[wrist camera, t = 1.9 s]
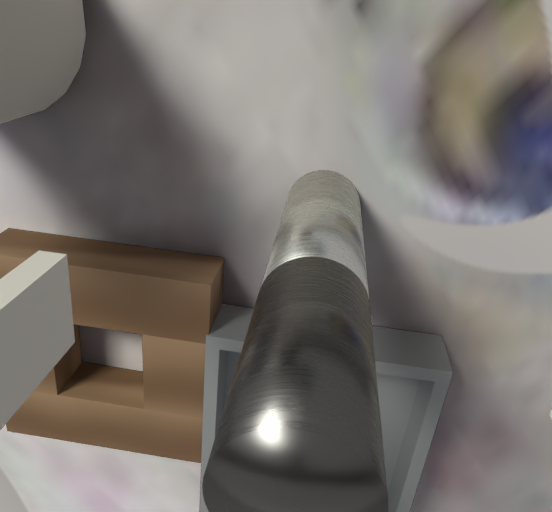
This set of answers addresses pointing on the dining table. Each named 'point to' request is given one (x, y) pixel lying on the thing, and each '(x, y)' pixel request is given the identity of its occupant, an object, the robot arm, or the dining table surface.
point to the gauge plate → (134, 319)
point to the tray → (391, 390)
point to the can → (38, 53)
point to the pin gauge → (305, 372)
